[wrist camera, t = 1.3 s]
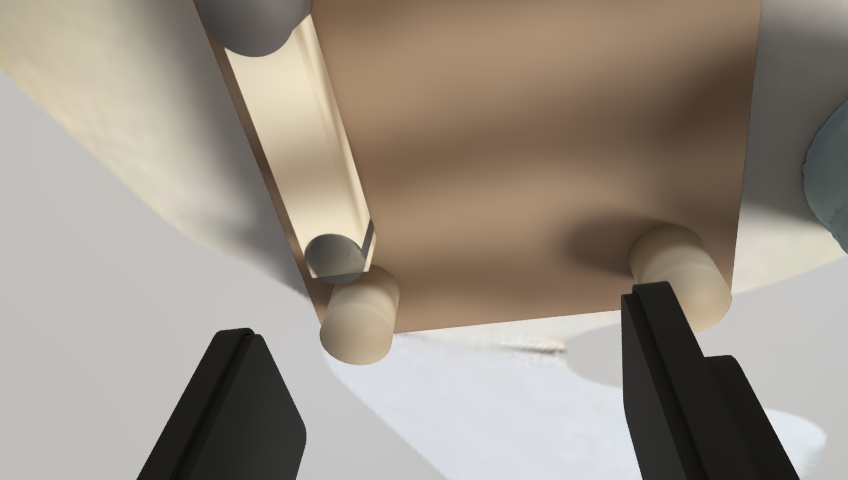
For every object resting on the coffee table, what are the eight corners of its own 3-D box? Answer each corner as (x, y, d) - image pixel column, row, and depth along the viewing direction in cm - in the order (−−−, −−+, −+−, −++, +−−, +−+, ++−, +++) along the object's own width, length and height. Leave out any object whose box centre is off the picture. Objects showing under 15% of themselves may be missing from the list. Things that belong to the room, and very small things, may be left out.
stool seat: (195, -90, 22) (106, -74, 17) (746, -226, 19) (855, -260, 14) (338, 304, 33) (311, 391, 28) (708, 261, 30) (761, 351, 24)
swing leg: (211, -47, 20) (179, -36, 18) (296, -67, 20) (275, -58, 18) (321, 255, 27) (307, 289, 25) (386, 246, 27) (378, 281, 24)
